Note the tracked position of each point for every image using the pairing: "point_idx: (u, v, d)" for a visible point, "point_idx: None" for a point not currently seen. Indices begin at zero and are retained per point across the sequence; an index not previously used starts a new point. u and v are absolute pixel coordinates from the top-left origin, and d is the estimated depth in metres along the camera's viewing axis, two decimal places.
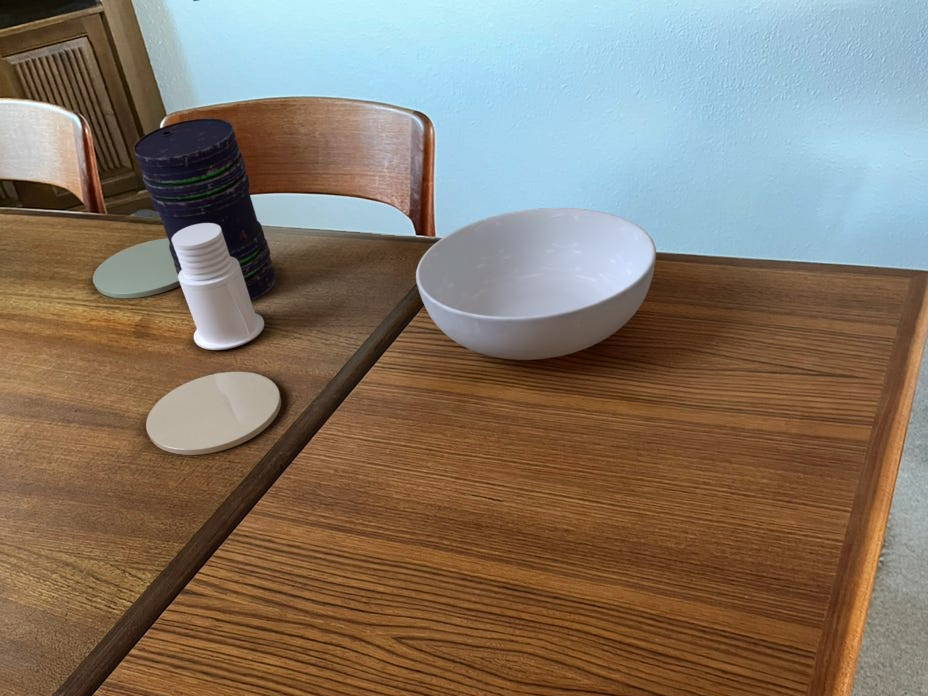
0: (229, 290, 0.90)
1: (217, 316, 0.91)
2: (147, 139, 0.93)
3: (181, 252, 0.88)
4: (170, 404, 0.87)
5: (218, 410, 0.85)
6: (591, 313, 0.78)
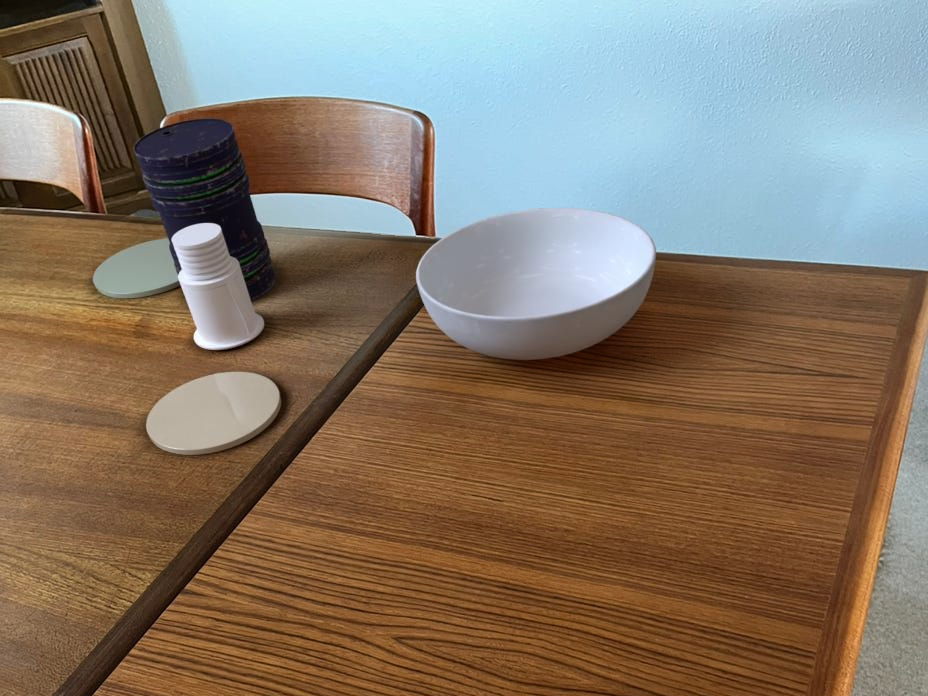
0: (229, 290, 0.90)
1: (217, 316, 0.91)
2: (147, 139, 0.93)
3: (181, 252, 0.88)
4: (170, 404, 0.87)
5: (218, 410, 0.85)
6: (591, 313, 0.78)
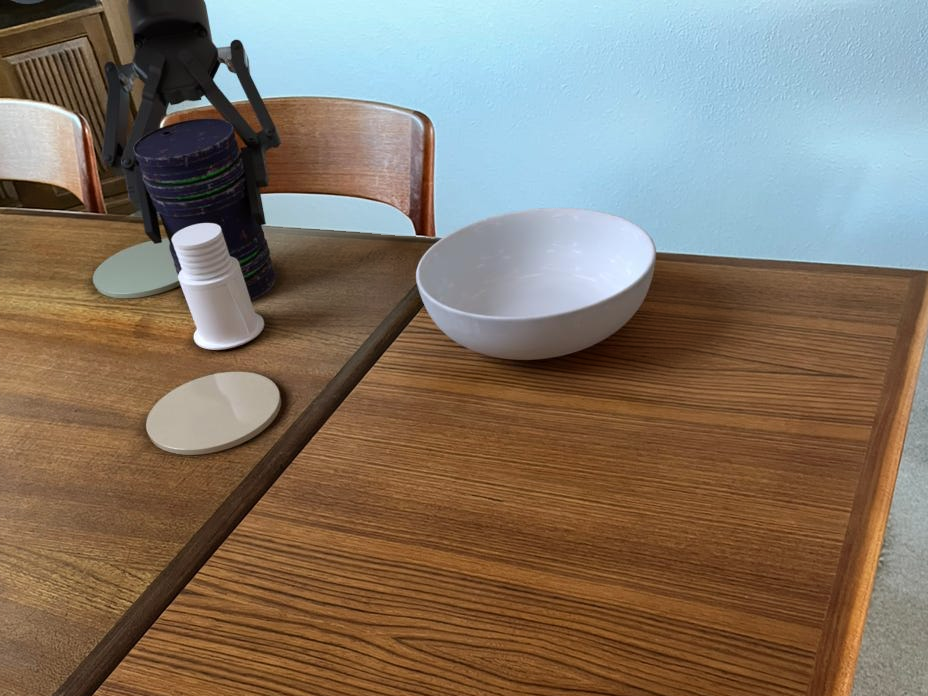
0: (229, 290, 0.90)
1: (217, 316, 0.91)
2: (147, 139, 0.93)
3: (181, 252, 0.88)
4: (170, 404, 0.87)
5: (218, 410, 0.85)
6: (591, 313, 0.78)
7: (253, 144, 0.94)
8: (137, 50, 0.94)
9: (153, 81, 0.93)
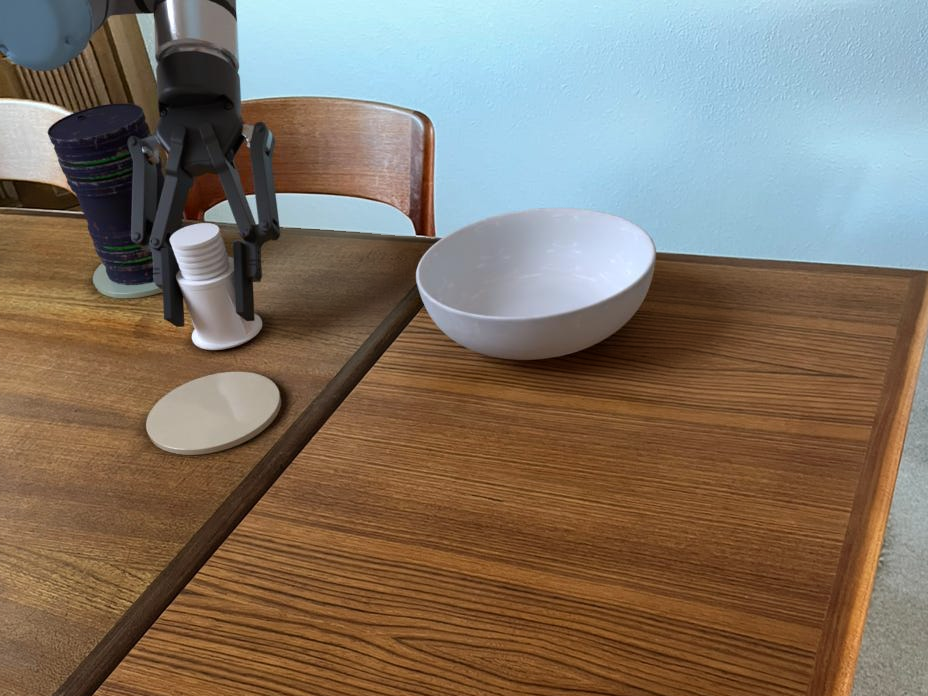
0: (226, 290, 0.90)
1: (215, 316, 0.91)
2: (62, 122, 0.98)
3: (178, 252, 0.88)
4: (170, 404, 0.87)
5: (218, 410, 0.85)
6: (591, 313, 0.78)
7: (245, 239, 0.89)
8: (161, 119, 0.90)
9: (175, 155, 0.89)
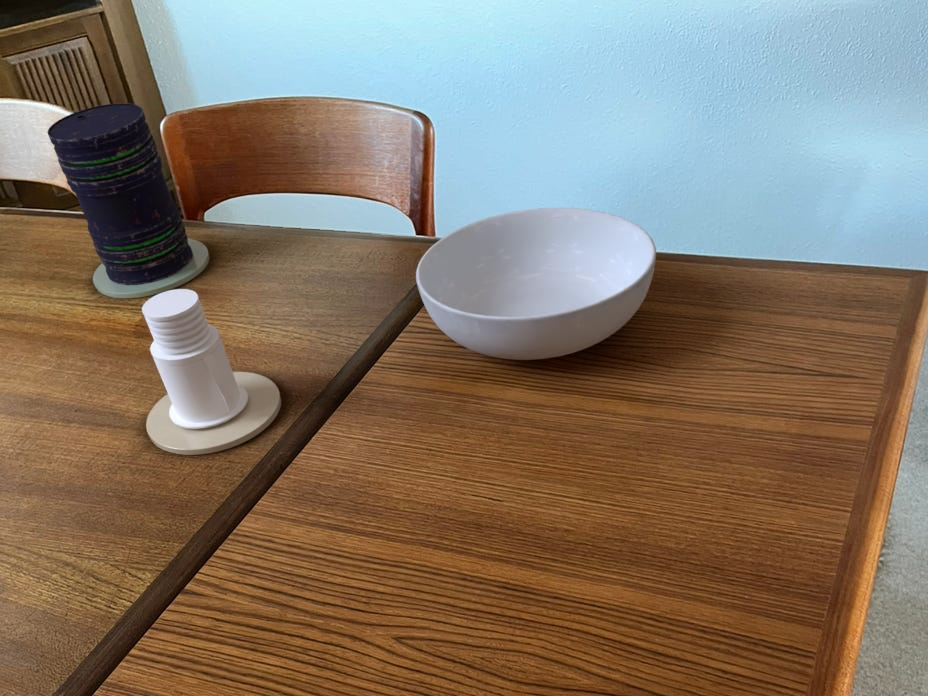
0: (206, 365, 0.80)
1: (194, 393, 0.81)
2: (62, 122, 0.98)
3: (152, 324, 0.78)
4: (170, 404, 0.87)
5: None
6: (591, 313, 0.78)
7: None
8: None
9: None
